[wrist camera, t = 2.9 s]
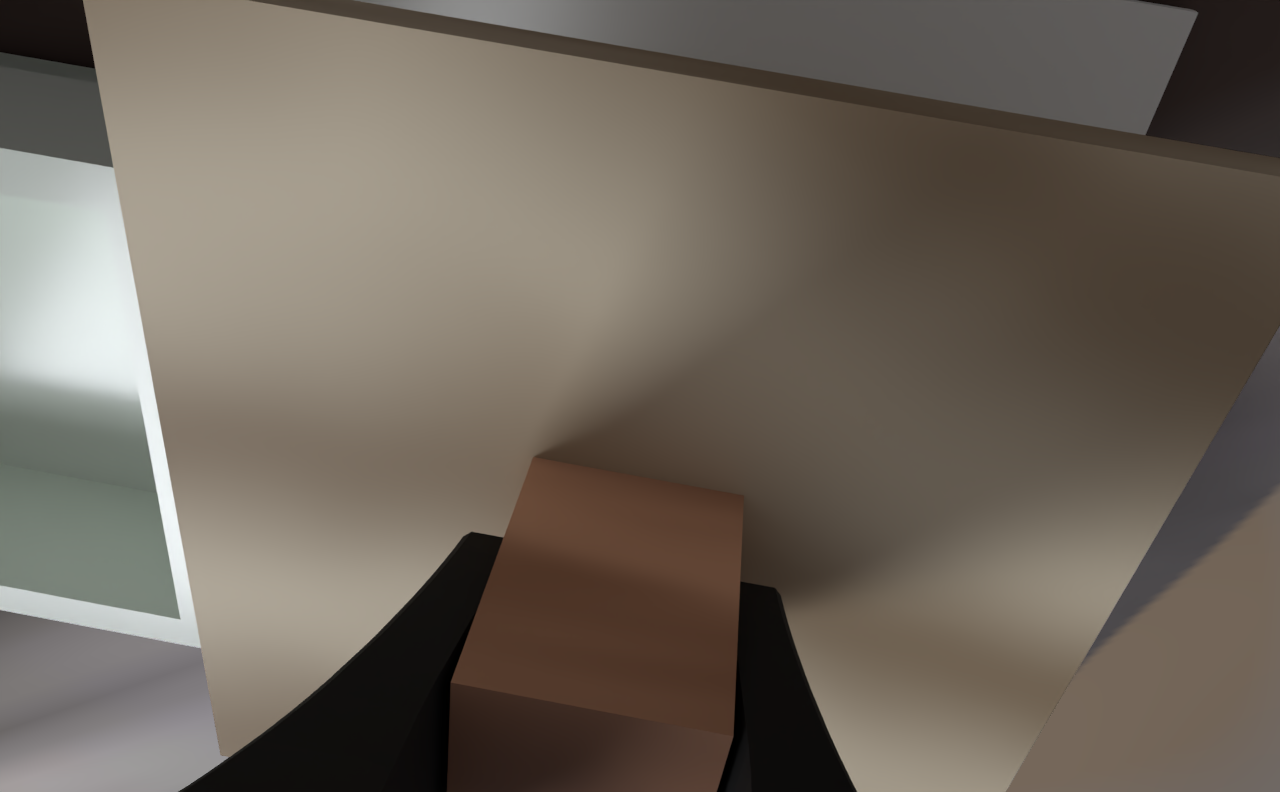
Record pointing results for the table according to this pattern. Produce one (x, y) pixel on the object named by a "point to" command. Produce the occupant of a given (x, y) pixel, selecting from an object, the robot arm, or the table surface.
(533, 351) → the lid
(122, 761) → the table surface
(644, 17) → the mat
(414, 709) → the robot arm
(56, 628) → the table surface
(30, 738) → the table surface
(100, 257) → the open box
